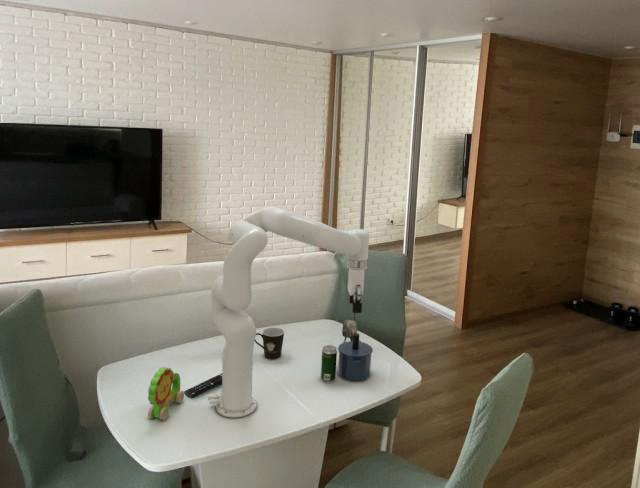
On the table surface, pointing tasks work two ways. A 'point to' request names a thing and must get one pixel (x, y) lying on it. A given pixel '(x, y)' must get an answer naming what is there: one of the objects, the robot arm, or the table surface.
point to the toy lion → (164, 392)
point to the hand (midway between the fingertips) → (355, 307)
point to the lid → (355, 348)
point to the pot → (354, 368)
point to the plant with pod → (349, 329)
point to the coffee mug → (272, 342)
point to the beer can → (328, 363)
